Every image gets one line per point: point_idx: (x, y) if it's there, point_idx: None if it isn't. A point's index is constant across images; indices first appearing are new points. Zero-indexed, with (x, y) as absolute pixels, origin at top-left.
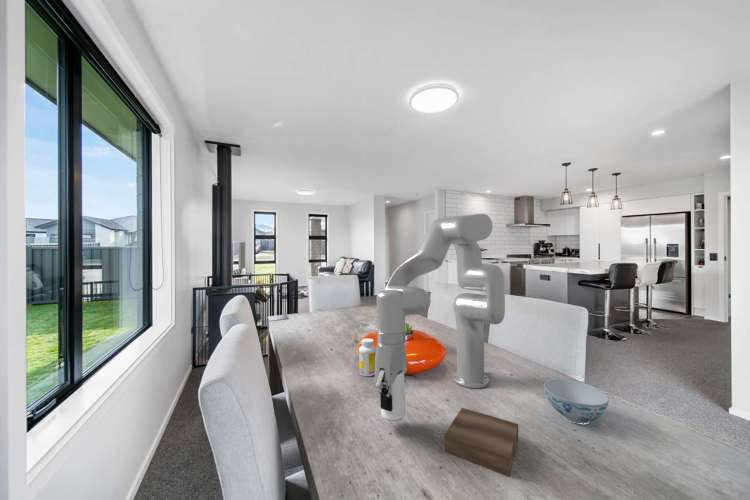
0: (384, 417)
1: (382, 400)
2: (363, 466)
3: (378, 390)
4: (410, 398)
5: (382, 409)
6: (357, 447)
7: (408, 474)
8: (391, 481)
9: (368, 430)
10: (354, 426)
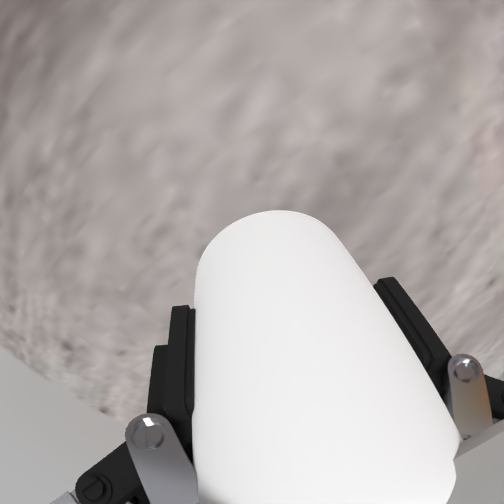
0: (196, 273)
1: (151, 390)
2: (15, 292)
3: (69, 501)
4: (486, 174)
5: (199, 284)
6: (37, 213)
7: (105, 382)
8: (57, 365)
9: (149, 159)
10: (124, 75)
